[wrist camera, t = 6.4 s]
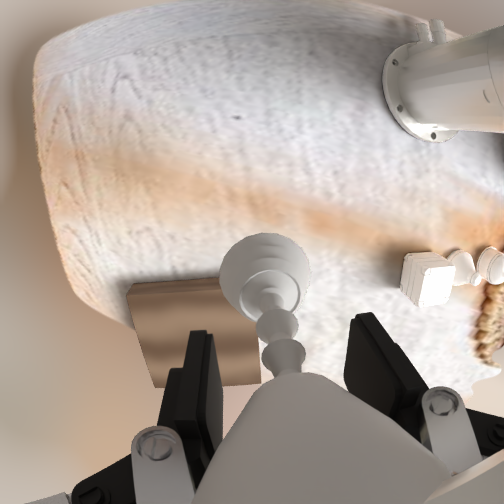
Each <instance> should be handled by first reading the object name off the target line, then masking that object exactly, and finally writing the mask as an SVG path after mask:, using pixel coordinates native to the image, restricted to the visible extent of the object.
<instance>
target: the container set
mask: <svg viewBox="0 0 504 504" xmlns="http://www.w3.org/2000/svg"><path fill="white" fill-rule="evenodd" d="M404 259H405V260H404V263H403V270H402V276H401V282H400V290H401V292H402V293H403V294H404V295H405V296H406V297H407V298H408V299H409V300H410V301H411V302H412V303H413V304H415V306H418V307H422V306H423V307H425V306H431V305H437V304H442V303H446V302H447V301H448V299H449V297H448V296H450V292H451V288H452V284H453V285H455V286H458V285H462V284H466V283H470V284H472V285H473V286H476V285H478V284H479V283H480V281H481V278H483V279H485V280H487V281H488V282H489V283H491V284H500V283H502V282H503V281H504V254H503V253H502V252H499V251H497V250H496V248H494V247H492V246H490V247H487V248H486V249H484V251H483V252H482V253H481V255H480V257H479V259H478V262H477V269H476V270H477V272H476V271H475V267H474V263H473V259H472V256H471V255H470V254H469V253H467V252H465V251H463V250H460V249H459V250H455V251H454V252H452V253H451V254H450V255H449V257H448V258H447V259H445V258H444V257H442V256H441V255H439V254H438V253H435V252H421V253H408V254H407V255H406V256H405V257H404Z"/></svg>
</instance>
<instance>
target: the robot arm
mask: <svg viewBox="0 0 504 504" xmlns="http://www.w3.org/2000/svg"><path fill="white" fill-rule="evenodd" d="M429 26H430V31H431V34H432V38H433V42H431V41H429V37H428V35H429V34H428V29H427V25H426V24H424V23H418V24H416V29H417V34H418V37H419V41H417V43H416V42H413V43H407V44H404V45H402V46H400V47H398V48H396V49H395V50H393V52H392V53H391V54H390V55H389V56H388V58H387V60H386V62H385V65H384V69H383V77H382V82H383V91H384V95H385V99H386V102H387V104H388V106H389V109H390V111H391V112H392V114H393V116H394V118H395V119H396V120H397V122H398V123H399V124H400V125H401V127H402V128H404V129H405V130H406V131H407V132H408V133H409V134H411V135H412V136H414V137H415V138H417V139H420V140H422V141H426V142H434V143H440V142H444V141H447V140H449V139H451V138H453V137H454V136H455V135H456V134H457V133H458V131H459V130H462V131H481V132H495V133H504V25H503V26H499V27H496V28H492V29H488V30H485V31H481V32H478V33H474V34H471V35H468V36H465V37H461V38H458V39H455V40H452V41H449V42H446V37H445V35H446V33H445V28H444V24H443V22H442V21H441V20H438V19H431V20H429ZM392 63H393V64H392ZM397 109H398V110H397ZM344 381H345V384H346V386H347V389H348V391H349V393H351V394H352V395H354V396H356V397H357V398H359V399H360V400H362V401H363V402H365V403H367V404H368V405H370V406H371V407H373V408H374V409H376V410H378V411H379V412H381V413H383V414H384V415H386V416H387V417H389V418H391V419H392V420H393V421H394V422H396V423H397V424H398V425H399V426H400V427H402V428H403V429H404V430H405V431H406V432H407V433H409V434H410V435H411V436H412V437H413V438H415V439H416V440H417V441H418V442H419V443H421V444H422V445H423V446H424V447H425V448H427V449H428V450H429V451H430V452H431V453H433V454H434V455H435V456H436V457H438V458H439V459H440V460H441V461H442V462H444V463H445V465H446V467H447V469H448V470H449V472H450V474H451V476H452V477H451V478H449V479H447V480H445V481H442V484H441V485H440V486H439V487H438V488H437V489H436V490H435V491H434V492H433V493H432V494H431V495H430V496H429V498H428V499H427V500H426V501H425V502H424V504H504V418H502V417H498V416H494V415H490V414H486V413H482V412H479V411H475V410H471V409H467V408H465V405H464V403H463V400H462V398H461V396H460V395H459V394H458V393H457V392H456V391H455V390H453V389H451V388H448V387H443V386H437V387H433V388H431V389H429V388H428V386H427V385H426V383H425V382H424V380H423V379H422V377H421V376H420V375H419V373H418V372H417V370H416V369H415V367H414V366H413V364H412V363H411V362H410V360H409V359H408V357H407V356H406V355H405V353H404V352H403V350H402V349H401V348H400V346H399V345H398V344H397V343H394V342H393V340H392V339H391V337H390V336H389V335H388V333H387V332H386V330H385V329H384V328H383V326H382V325H381V324H380V322H379V321H378V320H377V318H376V317H375V315H374V314H373V313H372V312H368V313H361V314H357V315H356V316H355V319H351V323H350V331H349V339H348V347H347V354H346V361H345V367H344ZM222 435H223V388H222V382H221V377H220V371H219V366H218V360H217V354H216V348H215V342H214V337H213V333H211V334H208V333H207V330H191V331H190V334H189V339H188V344H187V349H186V354H185V359H184V364H183V367H182V368H171V369H170V370H169V374H168V378H167V382H166V387H165V391H164V396H163V400H162V405H161V409H160V413H159V418H158V423H157V426H152V427H148V428H145V429H144V430H142V431H140V432H139V433H138V434H137V435H136V436H135V437H134V439H133V441H132V445H131V454H129V455H128V456H126V457H124V458H122V459H121V460H119V461H117V462H116V463H114V464H112V465H110V466H108V467H107V468H105V469H103V470H101V471H99V472H98V473H96V474H94V475H92V476H90V477H88V478H86V479H84V480H82V481H81V482H80V483H78V484H77V485H76V486H75V487H74V489H73V491H72V493H70V494H66V493H65V492H63V493H60V494H57V495H54V496H51V497H48V498H44V499H40V500H37V501H34V502H30V503H26V504H191V502H192V500H193V498H194V496H195V493H196V490H197V488H198V486H199V484H200V482H201V480H202V478H203V476H204V474H205V472H206V470H207V468H208V465H209V463H210V461H211V460H212V458H213V456H214V454H215V452H216V450H217V448H218V447H219V445H220V444H221V442H222V441H223V438H222V437H223V436H222Z"/></svg>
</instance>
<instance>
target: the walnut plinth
mask: <svg viewBox="0 0 504 504" xmlns="http://www.w3.org/2000/svg"><path fill="white" fill-rule="evenodd" d="M219 278H220V277H219ZM219 278H206V279H193V280H180V281H166V282H151V283H136V284H133V285H132V287H131V288H130V290H129V292H128V293H127V295H126V297H127V301H128V305H129V309H130V312H131V316H132V319H133V323H134V326H135V330H136V333H137V336H138V339H139V343H140V346H141V349H142V352H143V355H144V358H145V361H146V364H147V367H148V370H149V373H150V376H151V378H152V381H153V384H154V386H155V388H165V387H166V382H167V378H168V374H169V370H170V369H171V368H182V367H183V364H184V359H185V354H186V349H187V344H188V339H189V334H190V331H191V330H207V333H208V334H211V333H213V337H214V342H215V348H216V354H217V360H218V366H219V371H220V377H221V382H222V386H235V385H236V386H237V385H249V384H261V371H260V357H259V343H258V336H257V333H256V323H257V322H253V321H250V320H249V319H247V318H246V317H244V316H242V315H241V314H240V312H239V311H237V310H236V309H235V307H233V306H232V305H231V304H230V303H229V301H228V300H227V299H226V298H225V296H224V295H223V292H222V289H221V286H220V283H219Z"/></svg>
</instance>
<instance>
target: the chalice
mask: <svg viewBox="0 0 504 504" xmlns="http://www.w3.org/2000/svg"><path fill="white" fill-rule="evenodd" d="M310 277H311V269H310V264H309V259H308V258H307V256H306V254H305V253H304V251H303V249H302V248H301V247H300V246H299V245H298V244H296V243H295V242H294V241H293V240H291V239H290V238H287V237H285V236H282V235H279V234H276V233H259V234H255V235H252V236H248V237H245V238H244V239H242V240H241V241H239V242H238V243H236V244H235V245H233V246H232V248H231V249H230V250H229V251H228V253H227V254H226V255H225V256H224V259H223V262H222V264H221V267H220V278H219V283H220V286H221V289H222V292H223V295H224V296H225V298H226V299H227V300H228V301H229V303H230V304H231V305H232V306H233V307H235V309H236V310H237V311H239V312H240V314H241V315H242V316H244V317H246V318H247V319H249V320H250V321H253V322H257V323H256V333H257V336H258V337H259V338H260V339H261V340H262V341H263V342H265V343H267V344H268V345H267V346H266V347H265V348H264V350H263V353H262V362H263V365H264V366H265V367H266V368H267V369H268V370H270V371H271V372H272V374H273V376H274V379H272V380H270V381H268V382H266V383H264V384H263V385H262V386H261V387H260V388H258V390H256V391H255V392H254V393H253V395H252V396H251V398H250V400H249V401H248V403H247V404H246V406H245V408H244V409H243V411H242V412H241V414H240V415H239V417H238V418H237V420H236V421H235V423H234V424H233V426H232V427H231V429H230V430H229V432H228V433H227V435H226V436H225V438H224V439H223V441H222V442H221V444H220V445H219V447H218V448H217V450H216V452H215V454H214V456H213V458H212V460H211V461H210V463H209V465H208V468H207V470H206V472H205V474H204V476H203V478H202V480H201V482H200V484H199V486H198V488H197V490H196V493H195V496H194V498H193V500H192V502H191V504H424V502H425V501H426V500H427V499H428V498H429V496H430V495H431V494H432V493H433V492H434V491H435V490H436V489H437V488H438V487H439V486H440V485H441V484H442V481H445V480H447V479H449V478H451V477H452V476H451V474H450V472H449V470H448V469H447V467H446V465H445V463H444V462H442V461H441V460H440V459H439V458H438V457H436V456H435V455H434V454H433V453H431V452H430V451H429V450H428V449H427V448H425V447H424V446H423V445H422V444H421V443H419V442H418V441H417V440H416V439H415V438H413V437H412V436H411V435H410V434H409V433H407V432H406V431H405V430H404V429H403V428H402V427H400V426H399V425H398V424H397V423H396V422H394V421H393V420H392V419H391V418H389V417H387V416H386V415H384V414H383V413H381V412H379V411H378V410H376V409H374V408H373V407H371V406H370V405H368V404H367V403H365V402H363V401H362V400H360V399H359V398H357V397H356V396H354V395H352V394H351V393H349V392H348V391H346V390H345V389H343V388H342V387H340V386H339V385H337V384H336V383H334V382H333V381H331V380H329V379H328V378H326V377H324V376H322V375H318V374H314V373H309V372H307V373H301V365H302V363H303V362H304V360H305V356H306V352H305V348H304V347H303V346H302V344H301V343H299V342H298V341H296V340H293V337H294V336H295V335H296V333H297V331H298V321H297V318H296V317H295V316H294V313H295V312H296V311H297V310H298V309H299V308H300V306H301V304H302V302H303V300H304V298H305V295H306V293H307V289H308V287H309V284H310Z"/></svg>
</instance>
